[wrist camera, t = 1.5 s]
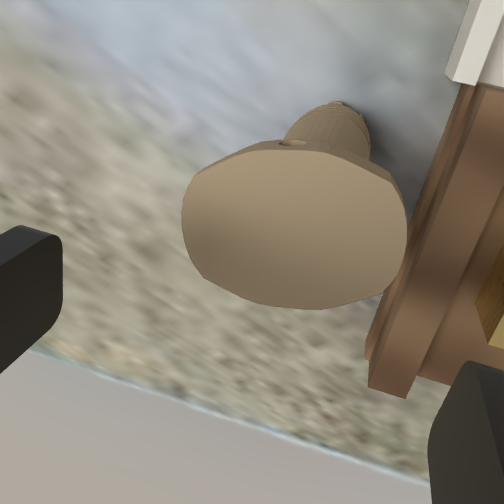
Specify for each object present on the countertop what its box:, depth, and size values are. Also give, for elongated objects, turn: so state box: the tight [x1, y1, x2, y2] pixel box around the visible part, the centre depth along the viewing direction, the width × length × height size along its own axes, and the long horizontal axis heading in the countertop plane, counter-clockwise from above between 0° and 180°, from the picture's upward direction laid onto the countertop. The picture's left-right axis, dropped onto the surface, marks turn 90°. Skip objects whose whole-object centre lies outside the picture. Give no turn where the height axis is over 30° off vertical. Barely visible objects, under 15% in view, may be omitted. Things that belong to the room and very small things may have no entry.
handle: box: [181, 101, 407, 310], centre depth 20 cm, size 5×6×15 cm
